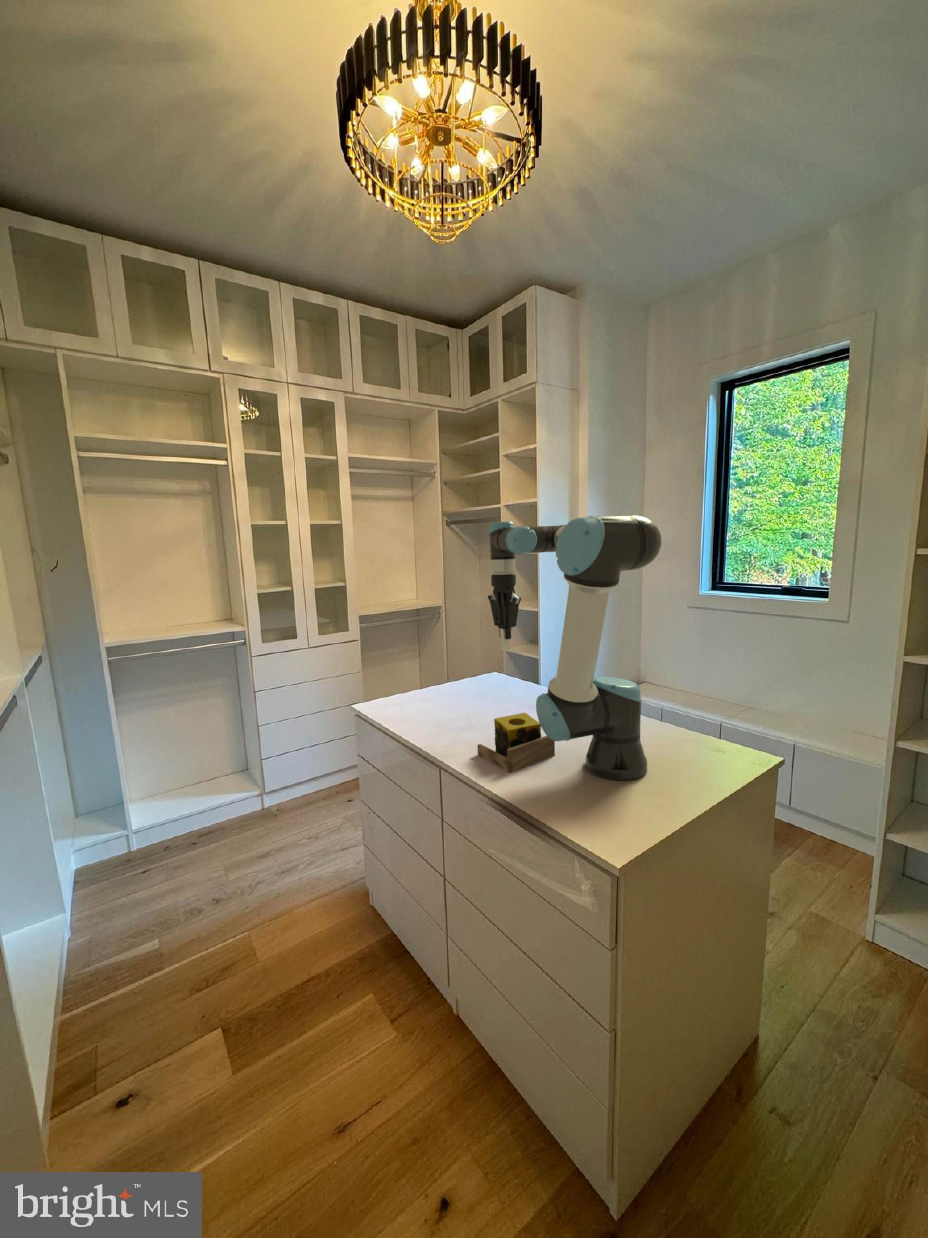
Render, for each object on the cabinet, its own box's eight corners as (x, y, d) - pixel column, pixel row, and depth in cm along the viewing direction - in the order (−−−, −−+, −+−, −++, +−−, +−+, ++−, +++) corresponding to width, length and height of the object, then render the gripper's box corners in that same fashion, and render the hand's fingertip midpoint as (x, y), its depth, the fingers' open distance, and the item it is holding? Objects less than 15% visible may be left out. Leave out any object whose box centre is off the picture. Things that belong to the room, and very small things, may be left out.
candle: (526, 744, 145) (525, 712, 143) (543, 758, 135) (542, 723, 134) (494, 751, 141) (493, 717, 140) (509, 765, 132) (508, 729, 130)
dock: (554, 755, 136) (554, 734, 135) (510, 772, 127) (509, 750, 127) (521, 740, 148) (520, 720, 147) (477, 754, 139) (477, 734, 138)
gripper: (527, 572, 148) (529, 650, 152) (498, 571, 158) (500, 644, 162) (508, 574, 144) (511, 654, 147) (480, 573, 154) (483, 648, 158)
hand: (505, 648), depth 155 cm, fingers closed
